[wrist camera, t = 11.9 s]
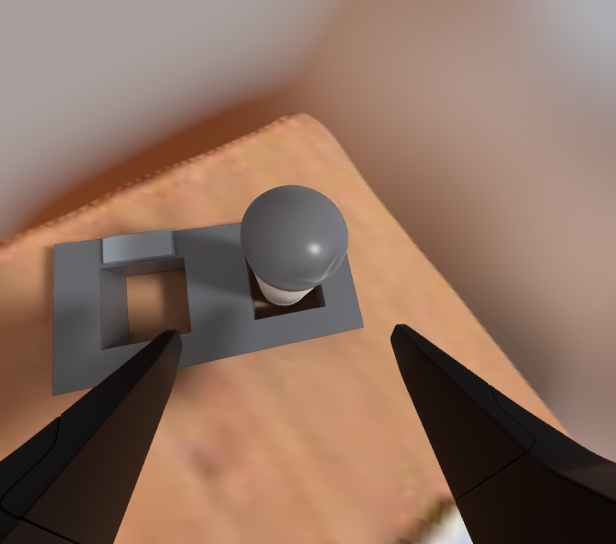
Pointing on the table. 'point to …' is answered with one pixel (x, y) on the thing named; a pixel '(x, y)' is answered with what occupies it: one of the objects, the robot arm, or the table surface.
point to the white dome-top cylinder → (292, 241)
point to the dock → (201, 297)
